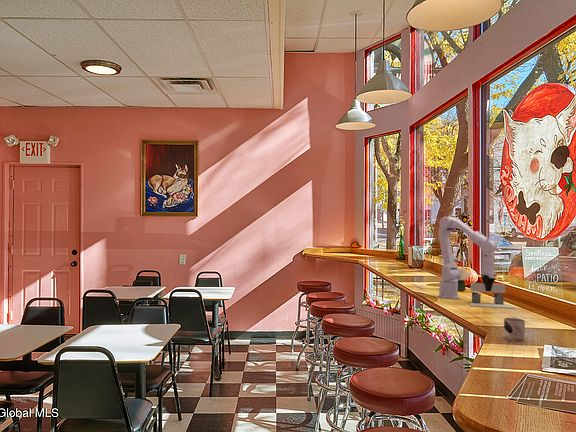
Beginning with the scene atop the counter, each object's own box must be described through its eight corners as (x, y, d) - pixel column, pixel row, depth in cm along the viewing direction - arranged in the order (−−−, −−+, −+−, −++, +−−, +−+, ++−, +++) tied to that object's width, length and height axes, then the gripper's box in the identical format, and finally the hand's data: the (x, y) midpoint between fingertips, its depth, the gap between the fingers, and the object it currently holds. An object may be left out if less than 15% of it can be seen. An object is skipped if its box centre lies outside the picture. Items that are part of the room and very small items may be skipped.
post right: (497, 305, 234) (497, 295, 234) (494, 303, 240) (494, 293, 240) (503, 305, 234) (503, 295, 234) (500, 303, 239) (500, 293, 240)
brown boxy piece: (474, 303, 236) (474, 293, 236) (471, 301, 242) (471, 292, 242) (480, 304, 236) (480, 294, 236) (477, 302, 242) (478, 292, 242)
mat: (471, 306, 228) (471, 305, 228) (468, 304, 235) (468, 302, 235) (514, 308, 225) (515, 307, 225) (510, 306, 232) (510, 305, 232)
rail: (471, 291, 238) (471, 283, 238) (470, 290, 241) (470, 282, 241) (505, 292, 235) (505, 285, 235) (503, 292, 238) (503, 284, 238)
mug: (500, 335, 170) (501, 317, 170) (519, 336, 170) (519, 318, 170) (513, 342, 160) (513, 323, 160) (532, 343, 160) (533, 324, 160)
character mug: (468, 290, 284) (468, 268, 284) (470, 291, 277) (471, 270, 277) (449, 289, 286) (450, 268, 286) (451, 291, 279) (452, 269, 279)
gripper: (500, 265, 230) (499, 293, 230) (493, 263, 244) (492, 288, 244) (485, 265, 231) (484, 292, 231) (478, 262, 246) (478, 288, 246)
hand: (487, 290), depth 238 cm, fingers closed on rail, 3 cm apart
